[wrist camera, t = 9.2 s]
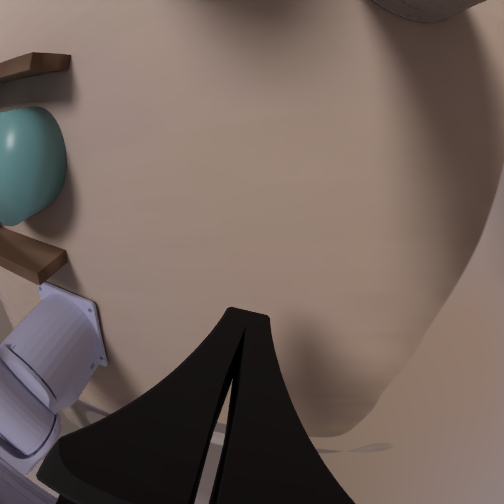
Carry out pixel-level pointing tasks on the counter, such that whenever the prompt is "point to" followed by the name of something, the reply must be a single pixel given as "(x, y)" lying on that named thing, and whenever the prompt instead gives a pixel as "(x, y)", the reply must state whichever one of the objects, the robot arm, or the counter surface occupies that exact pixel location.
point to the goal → (9, 242)
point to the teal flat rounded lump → (29, 163)
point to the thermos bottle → (427, 8)
